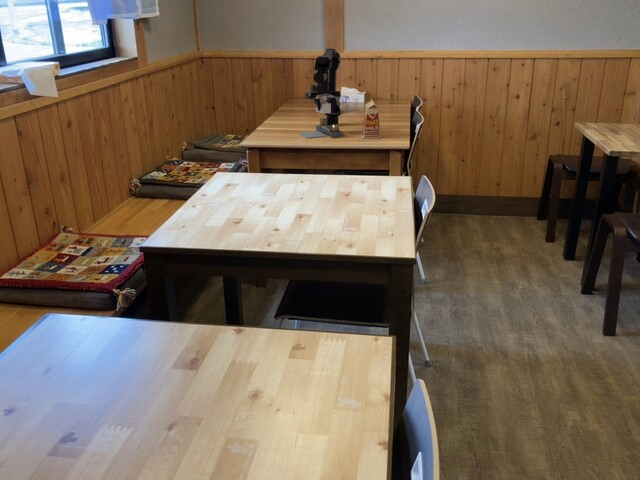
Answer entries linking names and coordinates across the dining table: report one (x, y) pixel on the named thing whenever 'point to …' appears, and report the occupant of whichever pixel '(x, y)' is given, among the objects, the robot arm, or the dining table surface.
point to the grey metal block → (324, 107)
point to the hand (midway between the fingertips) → (323, 110)
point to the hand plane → (329, 129)
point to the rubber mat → (312, 134)
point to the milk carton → (371, 121)
